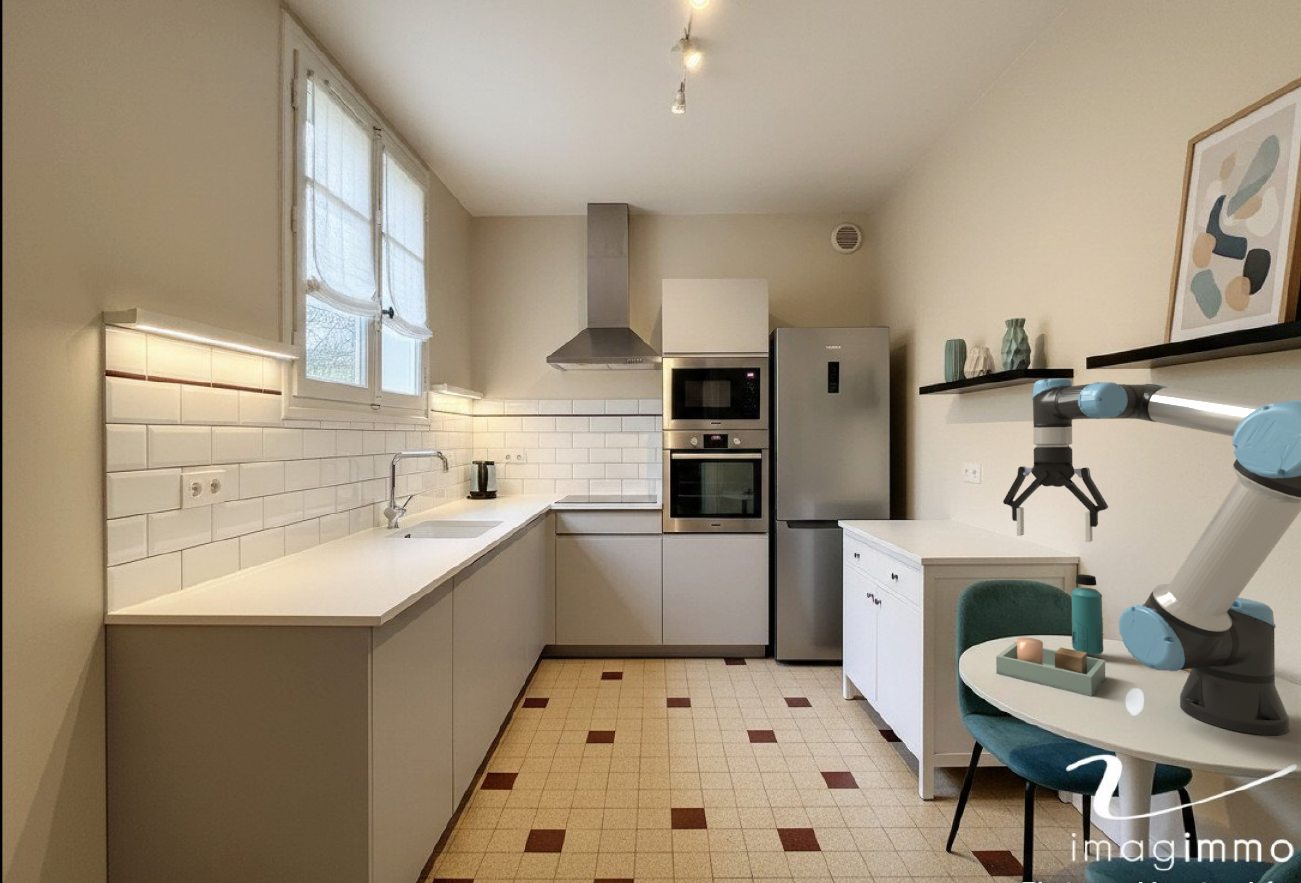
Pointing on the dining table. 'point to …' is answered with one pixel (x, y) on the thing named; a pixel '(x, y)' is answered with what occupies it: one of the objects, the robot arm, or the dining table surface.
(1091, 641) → the beverage bottle
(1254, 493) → the robot arm
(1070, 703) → the dining table surface
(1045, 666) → the tray
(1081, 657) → the walnut cube
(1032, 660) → the peach rounded smooth part
